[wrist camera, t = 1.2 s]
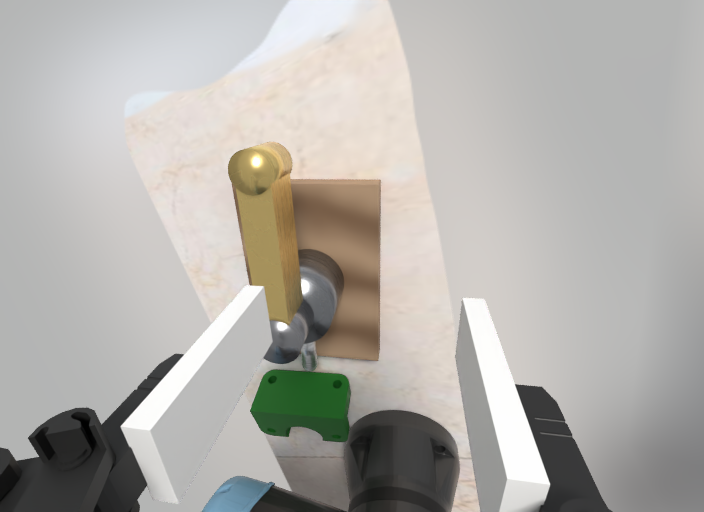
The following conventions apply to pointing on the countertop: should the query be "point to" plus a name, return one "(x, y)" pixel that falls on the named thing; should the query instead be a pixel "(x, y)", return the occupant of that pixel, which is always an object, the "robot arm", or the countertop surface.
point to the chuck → (318, 297)
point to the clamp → (303, 403)
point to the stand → (342, 256)
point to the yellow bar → (272, 243)
